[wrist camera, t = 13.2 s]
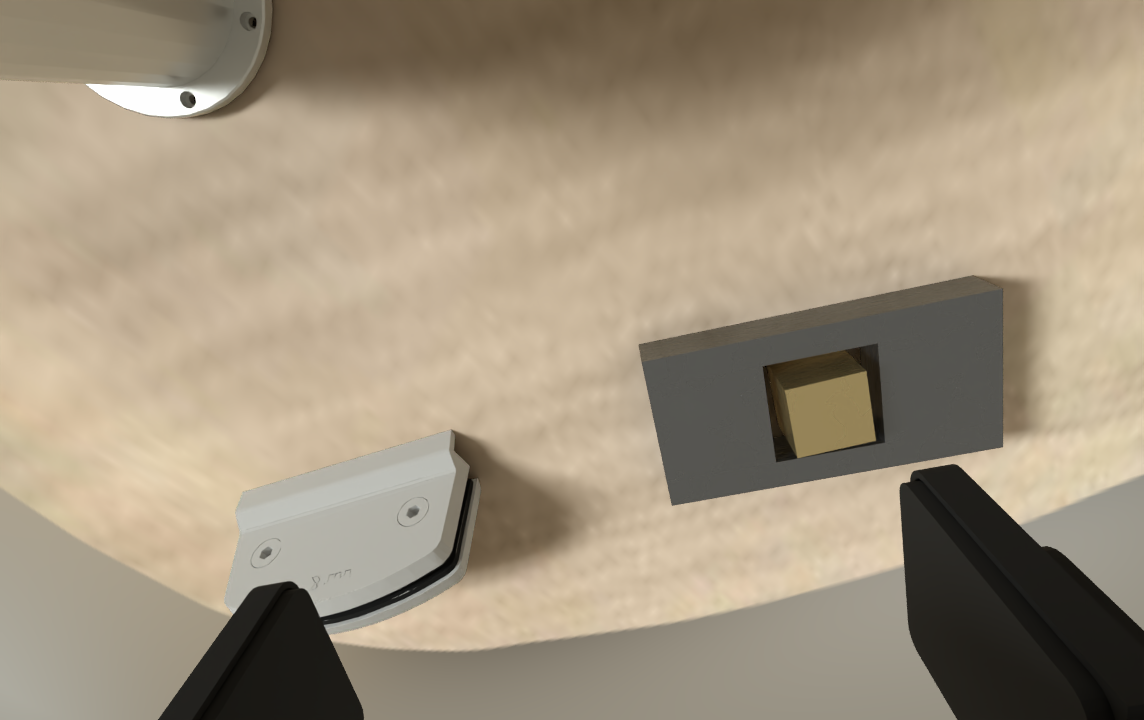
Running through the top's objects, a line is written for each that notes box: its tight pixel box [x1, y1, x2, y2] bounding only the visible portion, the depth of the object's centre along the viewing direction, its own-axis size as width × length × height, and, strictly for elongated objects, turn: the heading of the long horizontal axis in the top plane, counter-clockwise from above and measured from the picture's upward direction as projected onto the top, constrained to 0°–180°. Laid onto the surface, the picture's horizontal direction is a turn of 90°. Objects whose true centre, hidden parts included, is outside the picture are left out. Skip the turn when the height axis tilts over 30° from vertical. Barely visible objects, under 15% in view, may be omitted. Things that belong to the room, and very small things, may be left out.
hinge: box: [224, 430, 481, 635], centre depth 42 cm, size 17×5×10 cm, turn 109°
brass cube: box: [767, 350, 876, 458], centre depth 39 cm, size 4×4×4 cm
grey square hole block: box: [639, 276, 1003, 506], centre depth 40 cm, size 10×20×3 cm, turn 103°
